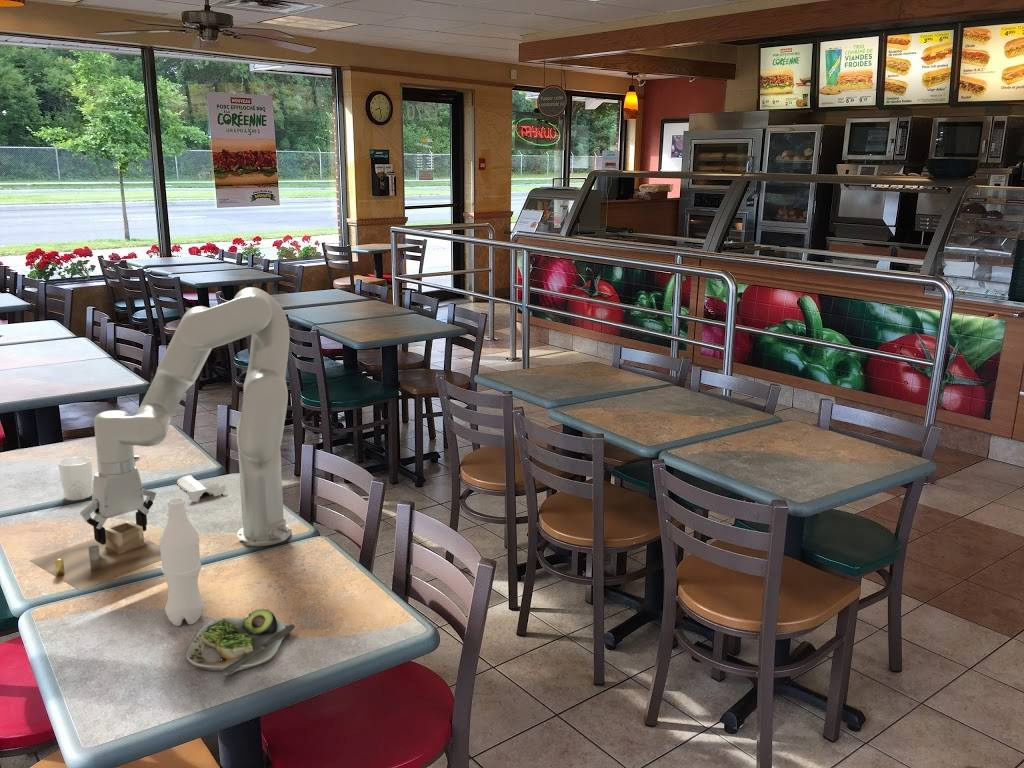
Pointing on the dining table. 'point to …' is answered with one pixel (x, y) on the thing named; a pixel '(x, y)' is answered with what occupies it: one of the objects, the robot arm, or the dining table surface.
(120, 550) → the square frame with tab
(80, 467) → the white cup
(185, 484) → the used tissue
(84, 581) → the board
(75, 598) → the dining table surface
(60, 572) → the dowel pin
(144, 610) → the dining table surface
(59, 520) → the dining table surface
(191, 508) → the dining table surface
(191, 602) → the water bottle
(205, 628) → the avocado toast plate
